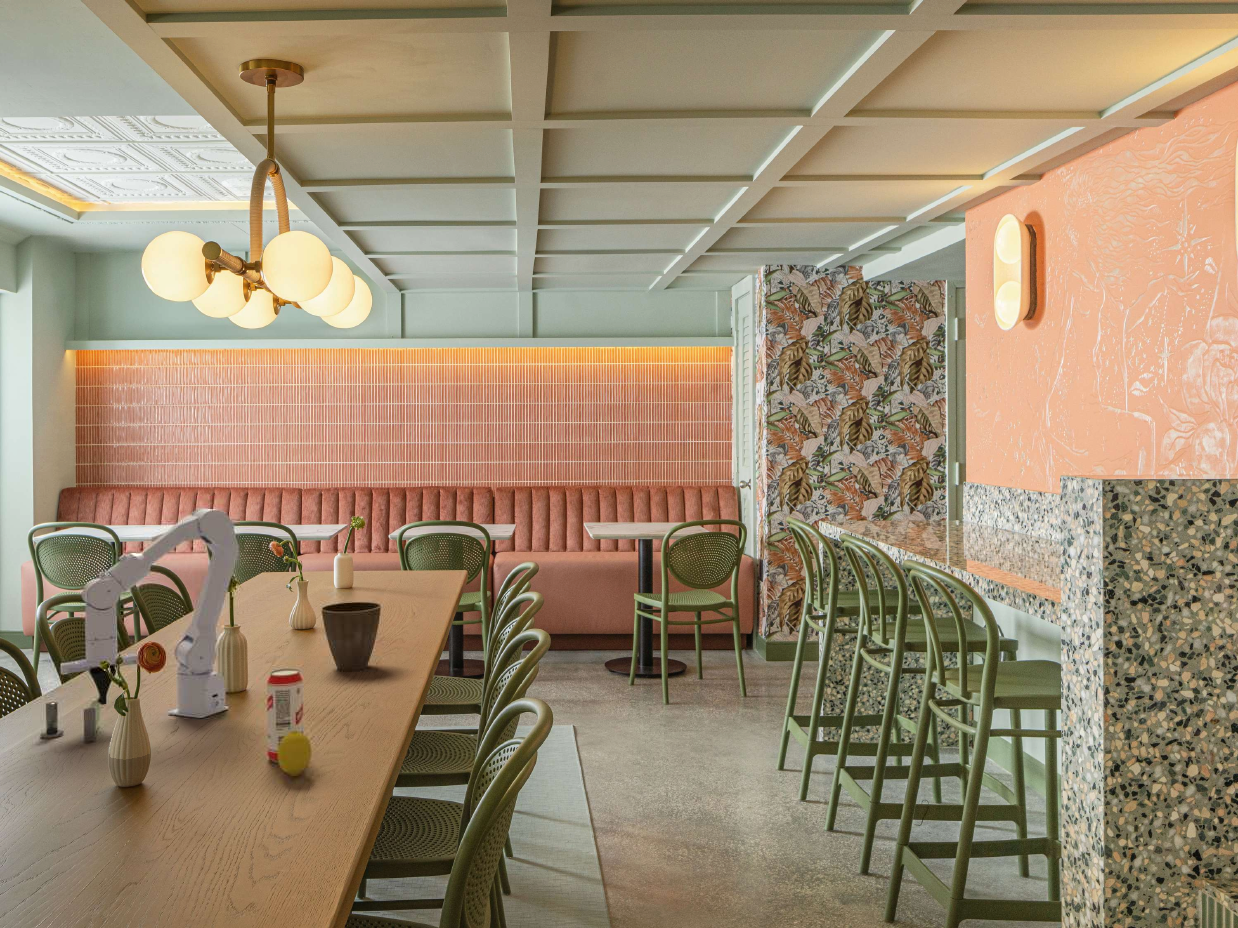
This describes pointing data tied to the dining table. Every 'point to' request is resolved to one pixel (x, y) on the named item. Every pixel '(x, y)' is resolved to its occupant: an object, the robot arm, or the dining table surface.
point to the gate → (91, 720)
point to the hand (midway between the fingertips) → (102, 703)
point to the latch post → (52, 722)
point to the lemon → (294, 753)
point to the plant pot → (351, 632)
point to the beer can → (283, 707)
